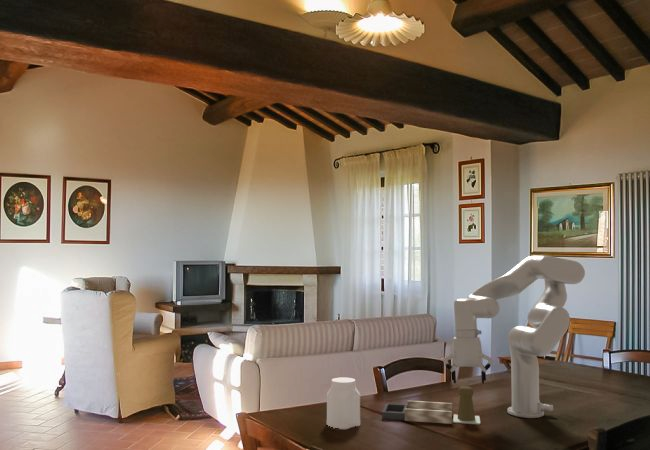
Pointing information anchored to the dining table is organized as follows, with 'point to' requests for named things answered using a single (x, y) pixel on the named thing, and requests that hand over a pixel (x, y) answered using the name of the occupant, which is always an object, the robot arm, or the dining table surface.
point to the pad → (476, 421)
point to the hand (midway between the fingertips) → (468, 382)
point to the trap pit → (394, 411)
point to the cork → (466, 404)
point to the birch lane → (429, 412)
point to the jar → (343, 404)
